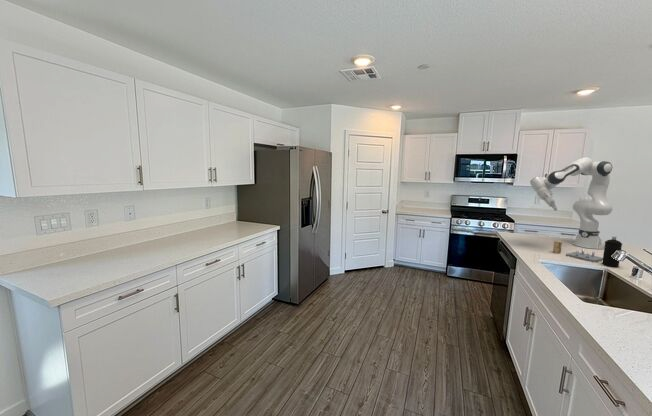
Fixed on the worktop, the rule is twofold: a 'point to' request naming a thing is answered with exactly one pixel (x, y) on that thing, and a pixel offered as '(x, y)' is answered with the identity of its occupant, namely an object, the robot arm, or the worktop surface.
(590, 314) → the worktop surface
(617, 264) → the aerosol can
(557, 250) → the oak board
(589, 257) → the peg base
